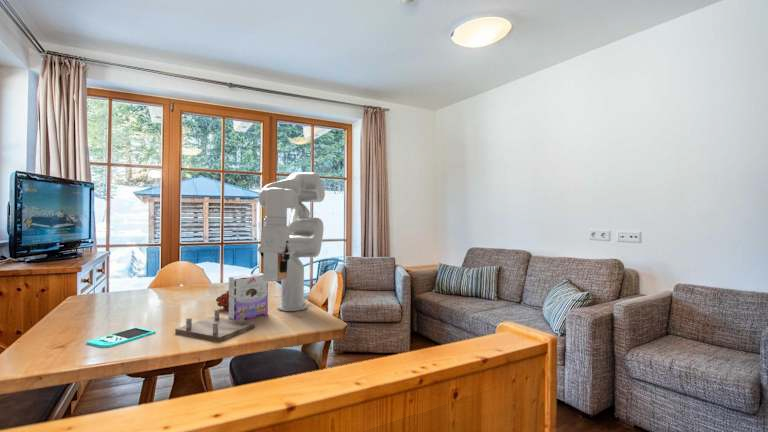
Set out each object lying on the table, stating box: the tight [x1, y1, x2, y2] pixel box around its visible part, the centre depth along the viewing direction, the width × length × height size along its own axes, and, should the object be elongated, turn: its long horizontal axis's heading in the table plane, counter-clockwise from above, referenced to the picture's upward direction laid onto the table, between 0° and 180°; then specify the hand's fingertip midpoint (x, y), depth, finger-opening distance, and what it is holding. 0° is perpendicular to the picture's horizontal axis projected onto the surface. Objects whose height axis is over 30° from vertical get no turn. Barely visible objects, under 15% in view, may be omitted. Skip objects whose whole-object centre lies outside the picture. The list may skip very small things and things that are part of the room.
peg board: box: [174, 308, 256, 343], centre depth 130 cm, size 16×20×5 cm
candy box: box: [228, 272, 269, 321], centre depth 147 cm, size 14×6×16 cm, turn 135°
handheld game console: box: [86, 326, 157, 348], centre depth 121 cm, size 10×16×1 cm, turn 157°
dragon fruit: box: [215, 290, 229, 311], centre depth 157 cm, size 8×8×12 cm
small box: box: [262, 252, 287, 282], centre depth 134 cm, size 8×6×10 cm
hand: (275, 270), depth 134 cm, fingers closed on small box, 6 cm apart
